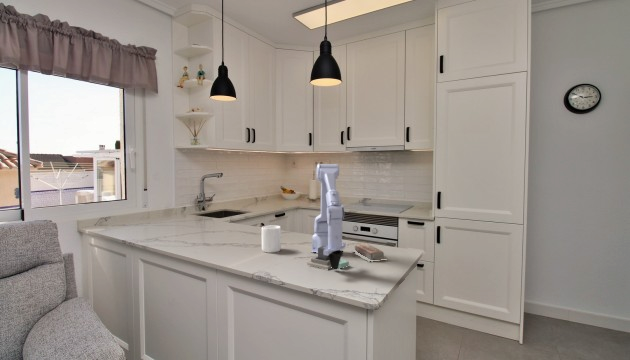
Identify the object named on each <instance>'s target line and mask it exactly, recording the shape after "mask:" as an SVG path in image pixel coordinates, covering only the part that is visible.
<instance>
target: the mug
mask: <svg viewBox="0 0 630 360" xmlns="http://www.w3.org/2000/svg"><path fill="white" fill-rule="evenodd" d="M281 231H282V228H281V225H276V224H273V225H272V224H271V225H270V224H269V225H263V226H262V227H261V251H262V252H263V253H266V252H267V253H269V254H270V253H271V254H274V253H278V252H280V251H281V247H282V245H281V244H282V242H281V239H282V236H281V235H282V233H281Z"/></svg>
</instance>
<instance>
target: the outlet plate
mask: <svg viewBox="0 0 630 360" xmlns="http://www.w3.org/2000/svg"><path fill="white" fill-rule="evenodd" d="M340 260H342V259H341V258H340ZM307 265H310V266H309V267H312V266H314V267H313V268H316V267H319V268H318V269H320V268H323V269H322V270H325V269H329V268H330V269H332V268H331V263H330V260H328V261H324V260H319V259H318V255H316V256H314V257H312V258H311V260H310V261H308V262H307V264H306V266H307ZM330 269H329V270H330Z"/></svg>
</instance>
